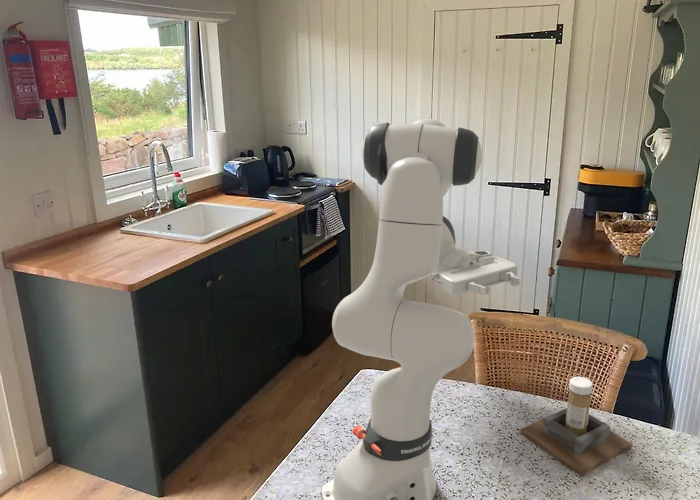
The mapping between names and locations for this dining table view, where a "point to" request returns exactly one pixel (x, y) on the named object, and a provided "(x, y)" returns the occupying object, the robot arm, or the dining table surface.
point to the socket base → (576, 442)
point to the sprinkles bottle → (578, 405)
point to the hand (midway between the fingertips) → (502, 287)
